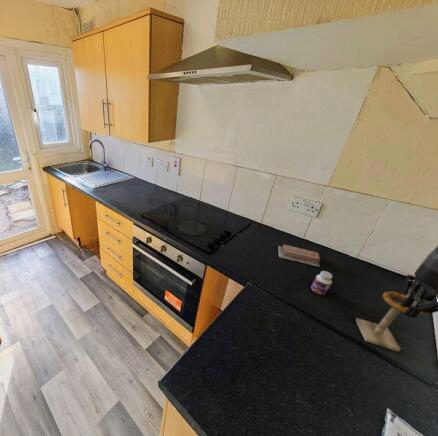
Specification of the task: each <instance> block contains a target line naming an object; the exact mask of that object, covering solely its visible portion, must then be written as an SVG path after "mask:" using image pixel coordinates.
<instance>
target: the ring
mask: <svg viewBox="0 0 438 436" xmlns="http://www.w3.org/2000/svg"><path fill="white" fill-rule="evenodd" d="M405 295H406V294H404V293H400V292H396V291H384V292H383V294H382V296H381V297H382V299H383V300H384V302H385V303H386V304H387V305H388V306H389V307H391V308H392V307H393V308H395V309H397V310H399V311H400V313H403V314H405V312H406V311H407V309H408V308H407V307H404V306H402V305H400V304H398V303H396V302H397V301H395V300H393V299H397V300H400V301H402V302H403V301H404V300H405V299H406V298H405ZM392 298H393V299H392ZM420 315H423V312H422V311H421V312H420V314H419V315H418V316H420Z"/></svg>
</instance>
